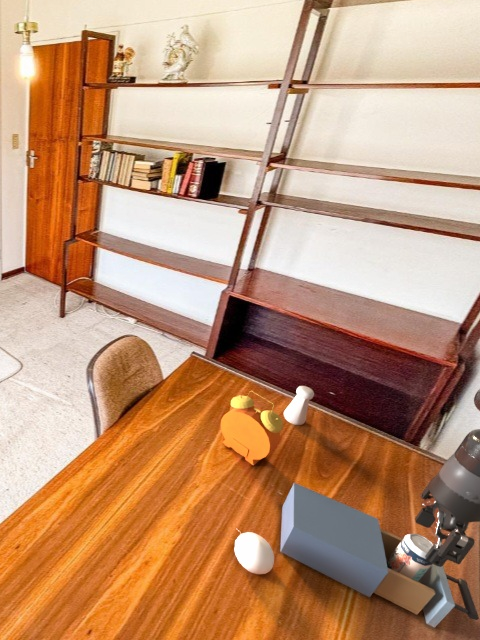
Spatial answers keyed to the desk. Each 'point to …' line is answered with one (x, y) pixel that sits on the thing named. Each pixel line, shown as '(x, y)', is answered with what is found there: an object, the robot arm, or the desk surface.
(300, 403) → the salt shaker
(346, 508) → the cabinet
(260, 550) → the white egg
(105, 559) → the desk surface
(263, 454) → the alarm clock
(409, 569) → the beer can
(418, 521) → the robot arm
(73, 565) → the desk surface
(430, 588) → the drawer
